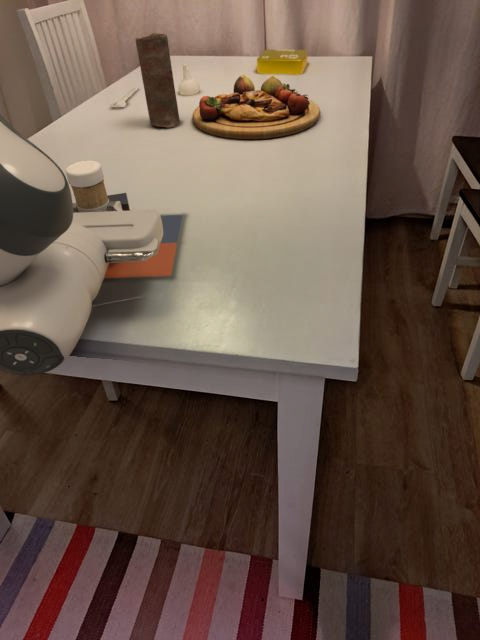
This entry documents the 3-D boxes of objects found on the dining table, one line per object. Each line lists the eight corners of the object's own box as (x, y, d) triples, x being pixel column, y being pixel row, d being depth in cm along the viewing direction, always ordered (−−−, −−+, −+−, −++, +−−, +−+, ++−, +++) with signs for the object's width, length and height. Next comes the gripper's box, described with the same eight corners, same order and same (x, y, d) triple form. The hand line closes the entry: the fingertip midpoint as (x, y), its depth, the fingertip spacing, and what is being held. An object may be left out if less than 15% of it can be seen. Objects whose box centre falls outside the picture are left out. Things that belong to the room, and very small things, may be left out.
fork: (141, 90, 142) (140, 84, 141) (121, 111, 127) (119, 104, 126) (131, 90, 143) (130, 84, 141) (109, 111, 128) (108, 104, 126)
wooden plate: (203, 149, 104) (199, 110, 98) (186, 107, 128) (182, 74, 122) (338, 133, 108) (342, 95, 103) (298, 95, 132) (299, 62, 126)
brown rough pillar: (154, 133, 113) (139, 38, 100) (146, 124, 118) (131, 33, 105) (184, 127, 115) (172, 34, 102) (174, 119, 121) (163, 29, 107)
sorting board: (34, 283, 68) (33, 280, 67) (69, 222, 81) (68, 219, 81) (171, 279, 67) (170, 275, 67) (183, 217, 81) (182, 214, 80)
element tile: (307, 63, 158) (308, 47, 155) (302, 75, 148) (302, 58, 144) (264, 63, 161) (264, 47, 158) (255, 74, 151) (255, 58, 147)
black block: (109, 235, 76) (102, 207, 73) (108, 223, 79) (101, 196, 76) (134, 230, 77) (128, 203, 73) (132, 219, 80) (126, 192, 76)
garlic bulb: (204, 94, 136) (201, 63, 131) (185, 98, 134) (182, 67, 129) (193, 89, 140) (190, 60, 135) (175, 93, 138) (171, 63, 133)
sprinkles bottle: (107, 242, 72) (84, 156, 63) (128, 250, 70) (107, 163, 61) (84, 256, 69) (57, 168, 60) (105, 265, 67) (80, 176, 58)
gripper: (151, 235, 52) (166, 182, 63) (-27, 241, 53) (17, 188, 63) (160, 280, 57) (172, 223, 67) (-6, 285, 57) (32, 229, 68)
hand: (96, 206), depth 65 cm, fingers closed on sprinkles bottle, 4 cm apart
